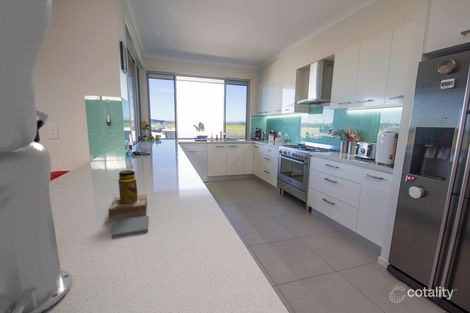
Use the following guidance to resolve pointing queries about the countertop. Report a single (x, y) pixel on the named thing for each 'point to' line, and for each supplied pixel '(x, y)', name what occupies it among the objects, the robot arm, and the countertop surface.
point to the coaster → (131, 226)
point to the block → (128, 209)
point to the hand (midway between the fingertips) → (11, 145)
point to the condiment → (127, 189)
